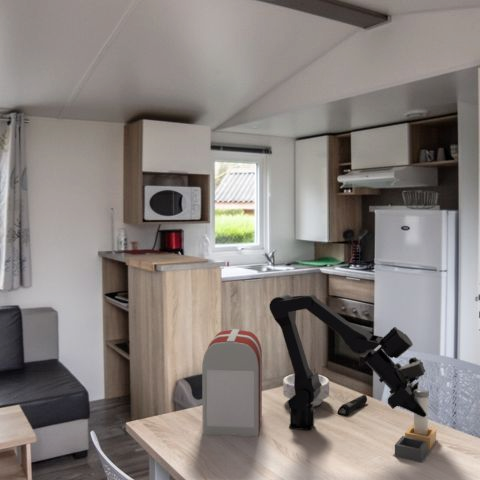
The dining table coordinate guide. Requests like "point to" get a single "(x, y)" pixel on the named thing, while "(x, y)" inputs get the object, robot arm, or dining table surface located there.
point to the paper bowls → (290, 390)
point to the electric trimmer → (352, 405)
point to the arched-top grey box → (232, 384)
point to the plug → (419, 421)
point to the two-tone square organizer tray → (415, 445)
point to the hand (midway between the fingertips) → (426, 413)
